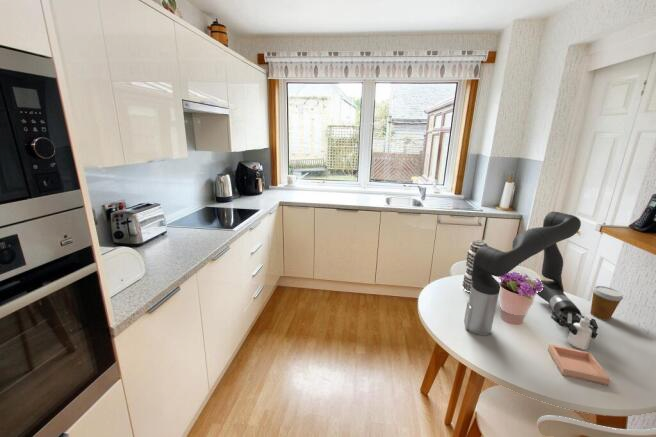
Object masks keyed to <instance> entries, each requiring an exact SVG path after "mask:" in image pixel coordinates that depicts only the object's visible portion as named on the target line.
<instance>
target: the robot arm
mask: <svg viewBox="0 0 656 437" xmlns="http://www.w3.org/2000/svg"><path fill="white" fill-rule="evenodd" d="M581 226H582V222H581V219H580V218H579V217H578V216H576V215H573V214H568V213H563V212H559V211H555V210H554V211H550V212H548V213H547V214H546V215H545V217H544V219H543V224H542V226H540V227H532V228H528V229H526V230H524V231H522V232H520V233H519V234H517V235H516V236H515V237H514V238H513V241H512V249H511V250H509V251H502V250H499V249H497V248H494V247H492V246H490V245H488V246H482V247H480V248H479V249H478V251H477V252H476V254H475V257H474V262H473V271H472V288H471V293H469V300H467V302H466V309H465V312H464V318H463V319H464V320H463V322H464V323H463V324H464V328H465V330H466V331H470V332H471V333H472V334H476V335H479V336H488V335H490V334H491V332H492V328H493V324H494V318H495V314H496V310H497V309H496V308H497V304H498V301H499V297H500V291H501V284H500V283H499V281H498V280H497V279H496V278H495V277H498V278H499V277H503V276H505V275H507V274H509V273H510V272H511V271H512V270H514V269H515V268H516V267H518V266H519V265H520V264H521V263H524V262H525V261H527V260H528V259H529V258H531V257H534V256H535V255H537V254H538V253H541V252H543V261H542V266H541V267H542V268H541V275H542V276H543V277H544V278H545V279H547V280H541V282H542V284H543V286H544V287H543V290H542V291H541V292H538V293H536V295H537V296H538V297H540V298H541V299H543V300H544V301H546V302H547V303H548V304H549V305H550V307H551V310H552V312H551V316H550V318H551V319H552V320H553V321H555V323H556V324H557V325H558V326H560V327H565V328H566V329H567V330H568V331H569V333H570V332H571V333H573V335H576V334H577V331H578V330H577V329H576V327H575V326H574V325H573V324H574V323H580V320H581V318H585V316H583V315H582V313H581V310H580V309H579V308H578V307H577V305H576V304H575V303H574V302H573V301H572V300H571V299H570V298H569V297H568V296H567V295H566V294H565V293H564V292H565V290H564V284H563V279H562V278H563V277H562V273H563V268H564V258H563V256H562V253H561V251H560V249H559V246H558V243H559V242H561V241H564V240H567V239H569V238H572V237H573V236H574V235H576V234H577V232H578V231H579V230H580V228H581ZM588 320H589V321H590V323H589V326H588V327H589V328H590V329H591V330H592V331H593V333H592V336H591V339H595V340H596V338H597V336H598V333H597V331H598V329H599V326H598V323H597V321H596V319H595V318H590V319H588Z"/></svg>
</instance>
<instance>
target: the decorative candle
mask: <svg viewBox="0 0 656 437" xmlns="http://www.w3.org/2000/svg"><path fill="white" fill-rule="evenodd" d="M482 246H489V245H488V243H487V242H486V241H483V240H474V241H472V242H470V247H469V250H468V251H467V254H466V262H465V263H466V264H465V267H466V269H465V272H464V275H463V276H464V277H463V281H462V286H463V287H464V289H466V290H467V291H470V292H471V288H472V271H473V262H474V257H475V254H476V252H477V251H478V249H479V248H480V247H482Z"/></svg>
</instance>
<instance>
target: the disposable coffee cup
mask: <svg viewBox="0 0 656 437" xmlns="http://www.w3.org/2000/svg"><path fill="white" fill-rule="evenodd" d="M623 299H624V297H623V293H622V292H621V291H619V290H617V289H614V288H612V287H609V286H604V285H595V286H594V288H592V299H591V306H590V315H591V316H593V317H594V318H597V319H600V320H603V321H611V318H612V316H613V314H614V313H615V311H616V309H617V308H618V306H619V304H620V302H621V301H622V300H623Z"/></svg>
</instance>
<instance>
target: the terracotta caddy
mask: <svg viewBox="0 0 656 437" xmlns="http://www.w3.org/2000/svg"><path fill="white" fill-rule="evenodd" d="M547 352H548V354H549V355H550V356H551V358H552V360H553V362H554V364H555V366H556V367H557V369H558V371H559V372H560V374H561V376H565V377H569V378H573V379H577V380H582V381H586V382H591V383H594V384H600V385H603V386H609V384H610V382H611V378H610V376H609V375H608V373H606V371H605V370H604V368H603V367H602V366H601V365H600V363H599V361H598V360H596V357H594V355H593V354H592V353H591V352H589V351H587V350H581V349H575V348H570V347H564V346H560V345H555V344H549V343H548V347H547Z"/></svg>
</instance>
